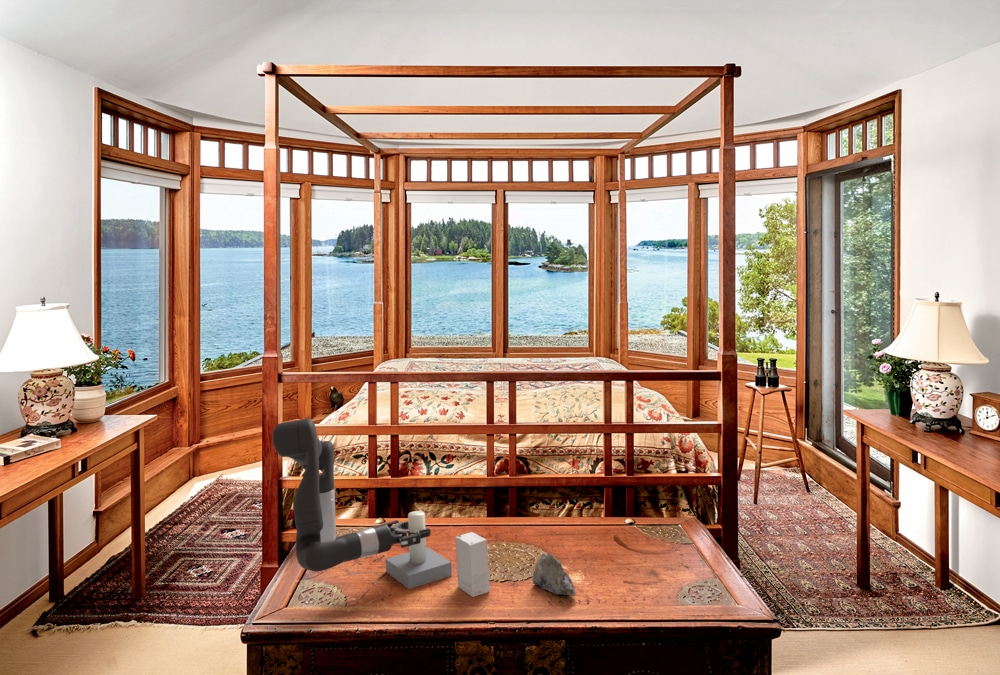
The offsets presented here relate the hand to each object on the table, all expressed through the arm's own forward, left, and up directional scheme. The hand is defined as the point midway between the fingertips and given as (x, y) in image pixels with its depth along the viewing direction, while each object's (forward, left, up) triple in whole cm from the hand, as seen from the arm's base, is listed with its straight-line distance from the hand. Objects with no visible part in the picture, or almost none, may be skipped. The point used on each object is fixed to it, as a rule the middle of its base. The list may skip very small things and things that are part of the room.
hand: (422, 527), depth 191 cm
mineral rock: (+33, +22, -14) cm, 42 cm away
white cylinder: (0, -2, -9) cm, 10 cm away
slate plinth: (0, -2, -13) cm, 14 cm away
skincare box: (+18, +5, -14) cm, 23 cm away
